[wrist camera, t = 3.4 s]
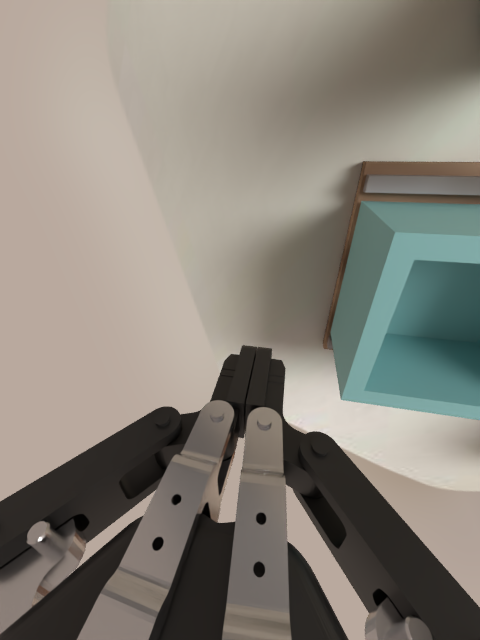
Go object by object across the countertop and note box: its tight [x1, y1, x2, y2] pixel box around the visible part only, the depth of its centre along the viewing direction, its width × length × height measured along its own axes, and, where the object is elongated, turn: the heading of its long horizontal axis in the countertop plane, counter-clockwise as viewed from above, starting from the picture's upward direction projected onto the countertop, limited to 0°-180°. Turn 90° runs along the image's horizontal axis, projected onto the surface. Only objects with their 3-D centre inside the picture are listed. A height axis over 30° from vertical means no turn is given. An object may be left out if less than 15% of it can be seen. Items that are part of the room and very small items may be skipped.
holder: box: [330, 201, 480, 420], centre depth 17 cm, size 11×12×8 cm
